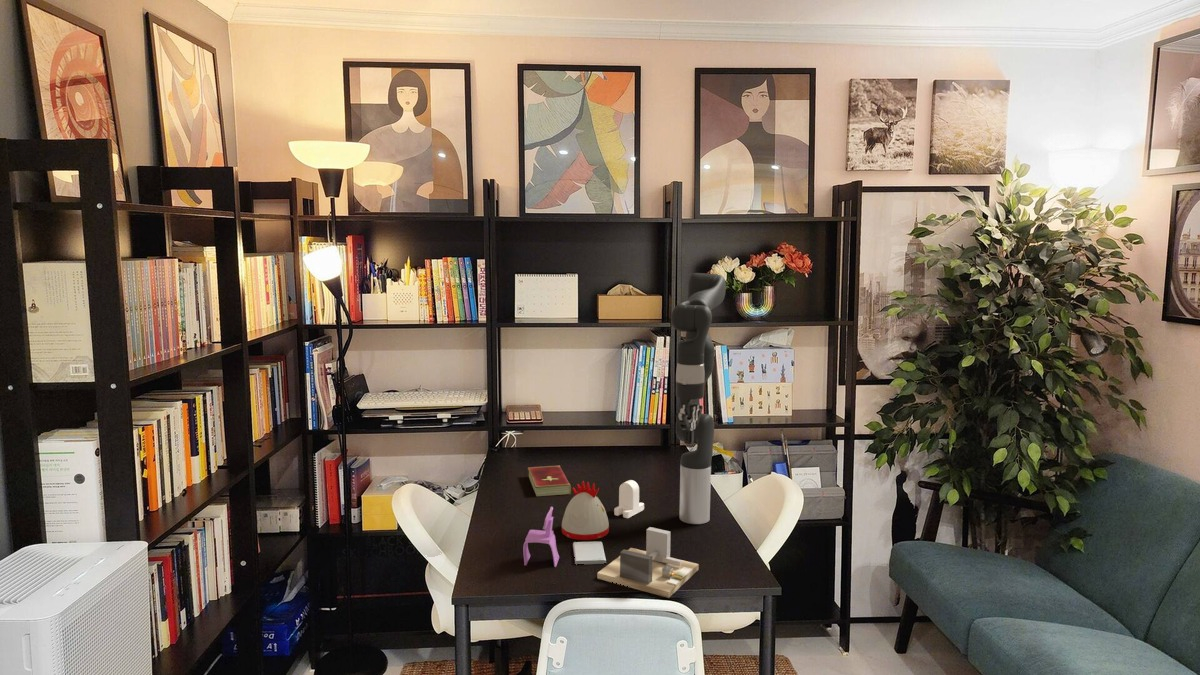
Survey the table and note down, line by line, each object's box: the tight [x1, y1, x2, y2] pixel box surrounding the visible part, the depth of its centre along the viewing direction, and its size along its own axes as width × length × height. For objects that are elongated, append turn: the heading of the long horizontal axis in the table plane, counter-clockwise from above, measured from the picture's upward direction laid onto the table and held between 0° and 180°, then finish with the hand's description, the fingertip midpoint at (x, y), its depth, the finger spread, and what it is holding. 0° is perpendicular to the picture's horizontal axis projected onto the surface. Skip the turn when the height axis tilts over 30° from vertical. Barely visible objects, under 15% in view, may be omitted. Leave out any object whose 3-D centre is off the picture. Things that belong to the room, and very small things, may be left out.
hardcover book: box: [527, 465, 572, 497], centre depth 262 cm, size 12×21×4 cm, turn 13°
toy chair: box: [522, 506, 560, 568], centre depth 200 cm, size 8×9×15 cm
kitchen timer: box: [561, 480, 610, 541], centre depth 221 cm, size 14×14×15 cm
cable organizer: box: [613, 479, 645, 519], centre depth 237 cm, size 5×10×10 cm, turn 145°
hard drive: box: [572, 541, 607, 566], centre depth 206 cm, size 2×8×12 cm
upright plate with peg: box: [645, 526, 682, 566], centre depth 195 cm, size 7×10×8 cm
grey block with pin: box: [662, 566, 683, 578], centre depth 188 cm, size 2×5×2 cm, turn 60°
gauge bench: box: [597, 547, 700, 599], centre depth 194 cm, size 18×20×8 cm
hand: (688, 443), depth 203 cm, fingers closed
